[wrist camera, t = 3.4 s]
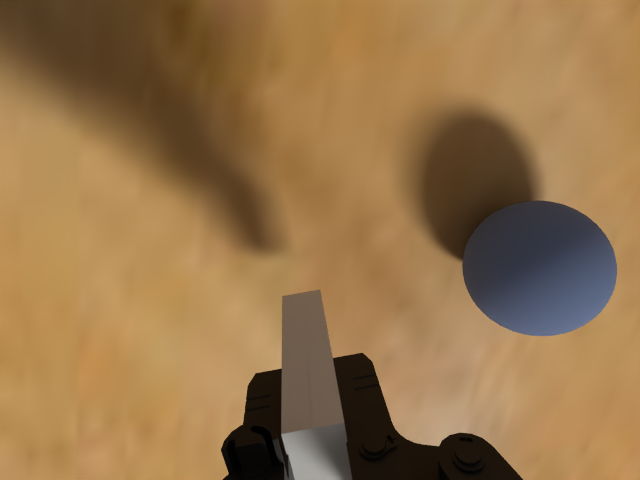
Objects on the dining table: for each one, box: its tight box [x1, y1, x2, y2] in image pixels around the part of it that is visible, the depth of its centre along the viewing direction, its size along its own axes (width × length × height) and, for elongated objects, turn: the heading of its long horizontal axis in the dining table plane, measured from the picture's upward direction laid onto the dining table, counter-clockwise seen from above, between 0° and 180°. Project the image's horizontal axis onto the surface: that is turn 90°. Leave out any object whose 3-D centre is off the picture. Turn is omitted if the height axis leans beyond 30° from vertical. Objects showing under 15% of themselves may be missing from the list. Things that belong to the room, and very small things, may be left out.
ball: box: [462, 201, 617, 336], centre depth 16 cm, size 6×6×6 cm
